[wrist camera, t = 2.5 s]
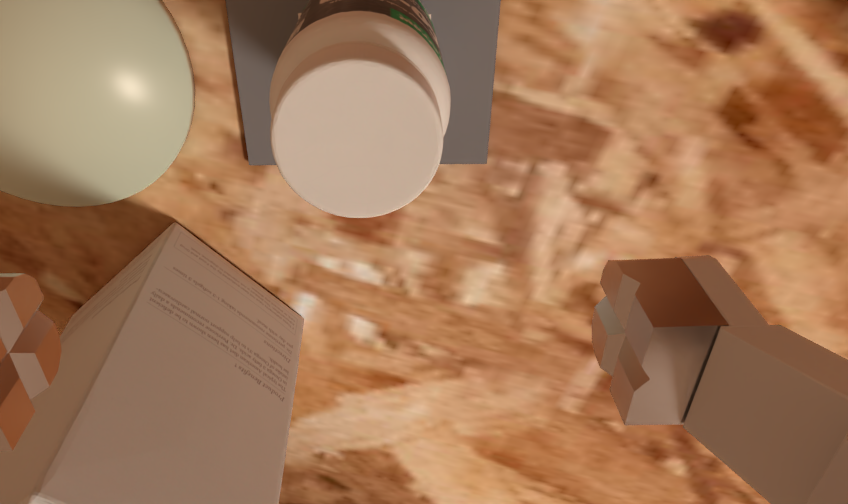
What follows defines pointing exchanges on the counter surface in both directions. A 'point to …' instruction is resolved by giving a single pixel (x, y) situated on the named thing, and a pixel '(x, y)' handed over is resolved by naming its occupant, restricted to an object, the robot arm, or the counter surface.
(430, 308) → the counter surface
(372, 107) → the pill bottle
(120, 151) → the pale green domed disc
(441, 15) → the grey flat square slab
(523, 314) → the counter surface
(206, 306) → the supplement box
